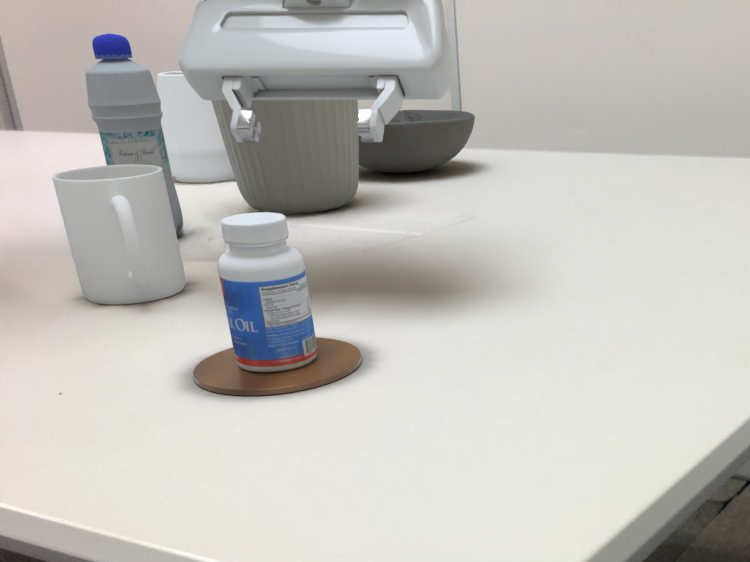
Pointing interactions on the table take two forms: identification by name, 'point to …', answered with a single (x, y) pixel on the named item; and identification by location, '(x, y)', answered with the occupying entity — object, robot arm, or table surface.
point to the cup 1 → (121, 233)
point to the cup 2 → (191, 132)
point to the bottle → (128, 112)
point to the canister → (296, 154)
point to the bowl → (417, 141)
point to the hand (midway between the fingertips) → (306, 137)
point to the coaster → (234, 380)
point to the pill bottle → (265, 294)
